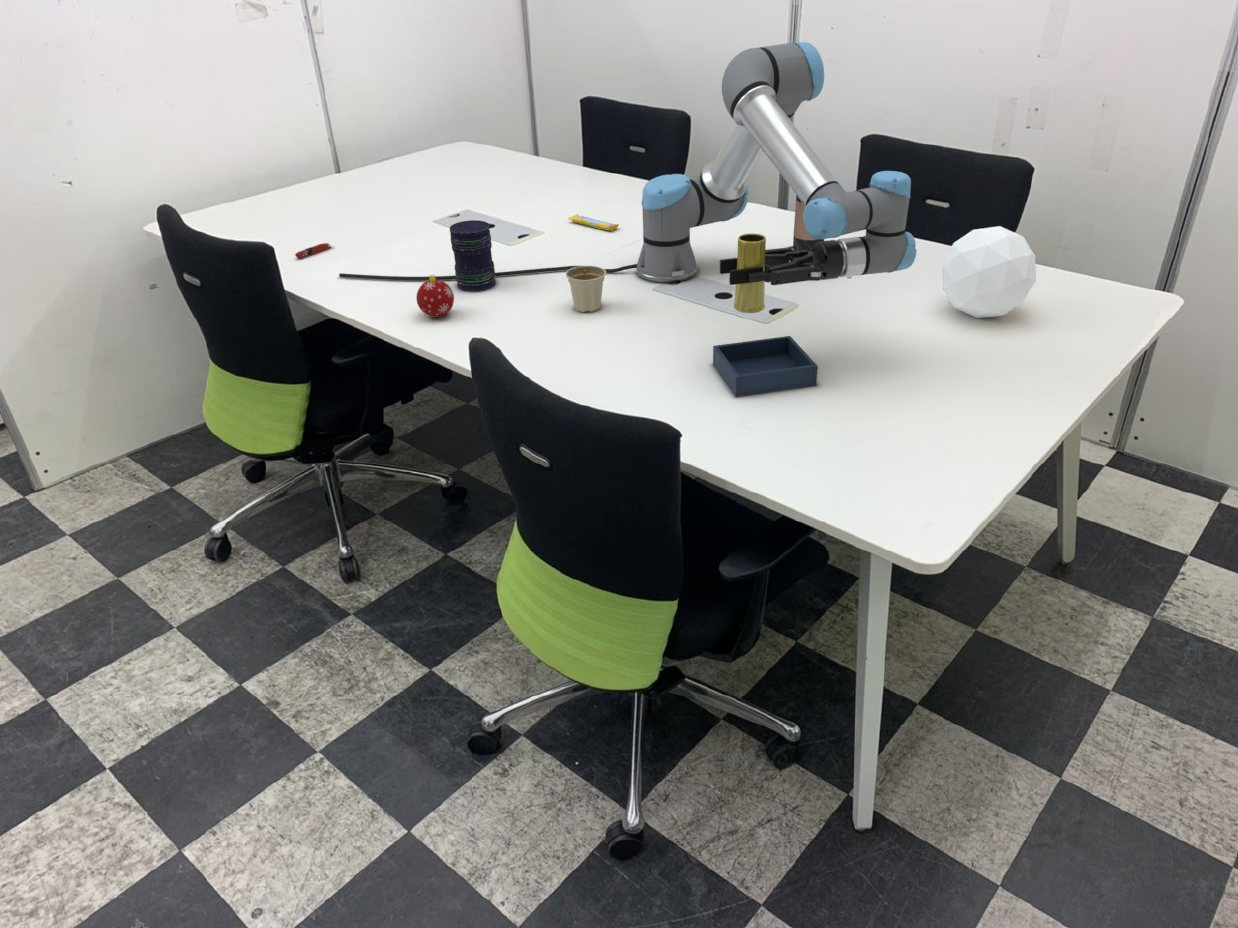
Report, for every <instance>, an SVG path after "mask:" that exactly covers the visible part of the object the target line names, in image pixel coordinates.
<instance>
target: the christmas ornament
mask: <svg viewBox="0 0 1238 928" xmlns="http://www.w3.org/2000/svg"><path fill="white" fill-rule="evenodd" d="M431 276H434V277H431ZM429 277H430V278H429V280H425V281H424V282H423V283H422V284H421V285H420V286H419V287H418V290H417V292H416V303H417V306H418V308H419V309H420V311H421V312H422V313H423V314H425V315H427V316H429V317H432V318H439V317H440V318H441V317H443V316H445V315H447V314H448V313H450V311H451V310H452V308H453V307H454V303H455V294H454V291H453V289H452V288H451V286H450V285H449V284H448V283H446V282H445V281H444V280H436V279H435V275H434V274H430V275H429Z"/></svg>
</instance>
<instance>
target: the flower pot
mask: <svg viewBox="0 0 1238 928" xmlns="http://www.w3.org/2000/svg"><path fill="white" fill-rule="evenodd" d="M577 266H578V267H574V268H571V269H569V270H566V271H565V277H566V278H567V282H568V283H569V287H570V291H571V297H572V302H573V307H574V309H575V310H576V311H577V312H582V313H585V312H590V313H592V312H595V311H598V310H599V309H600V308H601V306H602V294H603V286H604V285H603V284H604V280H605V277H606V276H607V273H606V271H605V269H606V268H603V267H601V266H597V265H577Z"/></svg>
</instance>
